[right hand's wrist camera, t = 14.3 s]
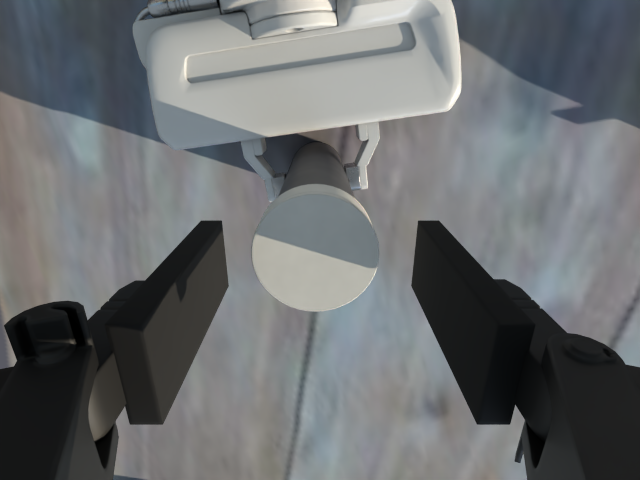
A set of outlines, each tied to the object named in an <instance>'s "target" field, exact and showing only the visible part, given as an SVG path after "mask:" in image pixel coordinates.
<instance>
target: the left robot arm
mask: <svg viewBox="0 0 640 480" xmlns="http://www.w3.org/2000/svg"><path fill="white" fill-rule="evenodd" d="M147 6H148V7H145V8H144V9H142V10H141V11H140V12H139V13H138V15H137V17H136V19H135V21H134V24H133V37H134V40H135V44H136V47H137V51H138V54H139V58H140V60H141V62H142V64H143V66H144V67H145V69H146V70H147V79H148V87H149V93H150V100H151V105H152V110H153V115H154V120H155V124H156V128H157V132H158V135H159V137H160V138H161V140H163V141H164V142H165V143H166V144H167V145H168V146H169V147H171V148H172V149H173V150H183V149H190V148H197V147H204V146H211V145H218V144H225V143H231V142H238V141H241V146H242V151H243V155H244V159H245V160H246V161H247V162H248V163H249V164H250V165H251V167H252V168H253V169H254V170H255V171H256V172H257V174H258V175H259V176H260V177H261V178H262V179H264V180H265V185H266V190H267V195H268V200H269V202H273V201H274V200H275V199H276V198H277V197H278V195H279V193H280V190H281V188H282V185H283V183H284V180H285V178H286V176H287V174H286V172H285V173H276V174H275V171H274V170H273V169H272V168H271V166H270V165H269V164H268V163H267V161H266V160H265V159H264V158H263V156H262V154H263V153H264V152H265V151H266V150H267V147H266V141H265V138H266V137H273V136H280V135H287V134H294V133H301V132H308V131H315V130H322V129H329V128H336V127H343V126H349V125H355V127H356V135H357V137H358V139H359V140H361V141H363V143H362V145H361V148H360V150H359V152H358V155H357V157H356V159H355V163H349V164H344V169H345V173H346V176H347V178H348V181H349V184H350V187H351V189H352V191H354V190H361V189H367V188H368V183H367V172H366V165H368V163H369V161H370V159H371V157H372V154H373V152H374V150H375V148H376V146H377V144H378V141H379V139H380V137H379V123H378V121H384V120H391V119H398V118H405V117H412V116H419V115H426V114H433V113H440V112H446V111H449V110H450V109H451V107H452V106H453V105H454V103H455V102H456V100H457V98H458V97H459V95H460V92H461V57H460V45H459V35H458V28H457V21H456V15H455V10H454V6H453V3H452V1H451V0H148V2H147ZM180 13H181V14H180ZM182 13H183V14H182ZM149 14H151V16H152V17H153V18H152V19H146V20H144V19H145V17H147V16H148V15H149ZM176 14H177V15H176Z"/></svg>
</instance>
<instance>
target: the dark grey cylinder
mask: <svg viewBox="0 0 640 480" xmlns="http://www.w3.org/2000/svg"><path fill="white" fill-rule="evenodd" d="M307 184H324V185H329V186H333V187H336V188H339V189H341V190H343V191H345V192H347V193H348V194H350V195H351V196H353V197H354V195H353V192H352V189H351V187H350V184H349V181H348V178H347V176H346V173H345V170H344V167H343V165H342V162H341V159H340V157H339V155H338V153H337V152H336V150H335V149H334V148H332V147H331V146H329V145H328V144H325V143H322V142H312V143H308V144H306V145H304V146H303V147H301V148H300V149H299V150H298V151H297V153H296V154H295V156H294V158H293V161H292V163H291V166H290V168H289V171H288V173H287V176H286V178H285V180H284V183H283V185H282V188H281V190H280V193H279V195H278V196H280V195H281V194H283V193H284V192H286V191H288V190H290V189H292V188H295V187H298V186H301V185H307Z"/></svg>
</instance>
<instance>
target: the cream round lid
mask: <svg viewBox="0 0 640 480" xmlns="http://www.w3.org/2000/svg"><path fill="white" fill-rule="evenodd" d="M251 257H252V264H253V267H254V271H255V273H256V275H257V278H258V279H259V281H260V283H261V284H262V286H263V287H264V288H265V289H266V290H267V291H268V292H269V293H270V294H271V295H272V296H273V297H274V298H276V299H277V300H278V301H280V302H282V303H283V304H285V305H288V306H290V307H293V308H296V309H299V310H305V311H326V310H331V309H335V308H338V307H341V306H343V305H345V304H347V303H349V302H351V301H352V300H354V299H355V298H357V297H358V296H359V295H360V294H361V293H362V292H363V291H364V290H365V289H366V288H367V286H368V285H369V284H370V282H371V281H372V279H373V277H374V275H375V272H376V269H377V266H378V261H379V244H378V239H377V236H376V233H375V231H374V228H373V226H372V223H371V221H370V219H369V217H368V214H367V213H366V211H365V209H364V208H363V207H362V205H361V204H360V203H359V202H358V201H357V200H356V199H355V198H354V197H353V196H351V195H350V194H348V193H347V192H345V191H343V190H341V189H339V188H336V187H333V186H329V185H324V184H307V185H301V186H298V187H295V188H292V189H290V190H288V191H286V192H284V193H283V194H281V195H280V196H278V197H277V198H276V199H275V200H274V201H273V202H272V203H271V204H270V205H269V206H268V208H267V209H266V211H265V212H264V214H263V216H262V218H261V221H260V223H259V225H258V227H257V229H256V231H255V234H254V237H253V241H252V247H251Z"/></svg>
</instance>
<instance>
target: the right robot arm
mask: <svg viewBox="0 0 640 480" xmlns="http://www.w3.org/2000/svg"><path fill="white" fill-rule="evenodd" d="M228 286H229V285H228V276H227V266H226V257H225V247H224V237H223V228H222V221H200V223H199V224H198V225H197V226H196V227H195V228H194V229H193V230H192V231H191V232H190V233H189V234H188V235H187V236H186V238H185V239H184V240H183V241H182V242H181V243H180V244H179V245H178V246H177V247H176V248H175V249H174V250H173V251H172V253H171V254H170V255H169V256H168V257H167V258H166V259H165V260H164V261H163V262H162V263H161V264H160V265H159V266H158V268H157V269H156V270H155V271H154V272H153V273H152V274H151V275H150V276H149V277H148V278H147V279H146V280H145V281H134V282H132V283H130V284H128V285H127V286H125V287H123V288H121V289H119V290H118V291H117V292H116V293H115V294H114V295H113V296H112V297H111V298H110V299H109V301H107V302H106V303H105V304H104V305H103V306H102V307H101V310H98V311H97V312H96V313H95V314H94V315H93V316H92V317H91V318H90V319H89V320H88V321H87V317H86V314H85V310H84V306H83V305H81V304H80V303H78V302H72V301H60V302H52V303H47V304H43V305H39V306H36V307H34V308H31V309H29V310H26V311H24V312H22V313H20V314H18V315H17V316H15V317H13V318H12V319H11V320H9V321H8V322H7V323H6V324H5V325H4V327H5V330H6V332H7V335H8V337H9V340H10V343H11V345H12V348H13V351H14V353H15V356H16V359H17V362H16V364H15V366H14V367H9V368H4V369H0V480H113V474H114V467H115V460H116V452H117V445H118V438H119V436H118V430H117V426H116V422H115V421H116V419H117V418H118V416H119V415H120V413H121V411H122V410H123V408H124V406H125V407H126V411H127V415H128V419H129V423H130V424H163V423H164V421H165V419H166V417H167V415H168V412H169V410H170V408H171V406H172V404H173V402H174V400H175V398H176V396H177V394H178V391H179V389H180V387H181V385H182V383H183V381H184V379H185V377H186V375H187V372H188V370H189V368H190V366H191V364H192V362H193V360H194V358H195V356H196V353H197V351H198V349H199V347H200V345H201V343H202V341H203V339H204V337H205V335H206V332H207V330H208V328H209V326H210V324H211V322H212V320H213V318H214V316H215V313H216V311H217V309H218V307H219V305H220V303H221V301H222V299H223V297H224V295H225V292H226V290H227V288H228ZM411 286H412V288H413V290H414V292H415V295H416V297H417V299H418V301H419V303H420V305H421V307H422V309H423V311H424V313H425V316H426V318H427V320H428V322H429V324H430V326H431V328H432V330H433V332H434V335H435V337H436V339H437V341H438V343H439V345H440V347H441V349H442V351H443V354H444V356H445V358H446V360H447V362H448V364H449V366H450V368H451V370H452V372H453V375H454V377H455V379H456V381H457V383H458V385H459V387H460V389H461V391H462V394H463V396H464V398H465V400H466V402H467V404H468V406H469V408H470V410H471V412H472V415H473V417H474V419H475V421H476V423H477V424H510V423H511V419H512V415H513V411H514V407H515V405H516V406H517V408H518V409H519V411H520V412H521V414H522V416H523V417H524V419H525V422H524V426H523V430H522V433H521V437H520V440H519V444H518V448H517V451H516V456H515V462H518V463H520V462H521V458H522V455H523V454H524V459H525V466H526V473H527V480H640V367H635V366H630V365H625V363H624V361H623V360H622V359H621V358H620V356H619V355H618V354H617V353H616V352H615V351H613V350H612V349H611V348H609V347H608V346H606V345H605V344H603V343H600V342H598V341H596V340H594V339H591V338H588V337H585V336H581V335H578V334H570V333H567V332H566V331H565V330H564V329H562V328H561V327H560V326H559V325H558V324H557V323H556V322H555V321H554V320H553V319H552V318H551V317H550V316H549V315H548V314H547V313H546V312H545V311H544V310H543V309H540V306H539V305H538V304H537V303H536V302H535V301H534V300H531V297H529V296H528V295H527V294H526V293H525V292H524V291H523V290H522V289H521V288H520V287H518V286H516V285H514V284H512V283H511V282H509V281H507V280H505V279H493V278H492V277H491V276H490V275H489V274H488V273H487V272H486V271H485V270H484V269H483V268H482V266H481V265H480V264H479V263H478V262H477V261H476V260H475V259H474V258H473V257H472V256H471V255H470V254H469V253H468V251H467V250H466V249H465V248H464V247H463V246H462V245H461V244H460V243H459V242H458V241H457V240H456V239H455V238H454V236H453V235H452V234H451V233H450V232H449V231H448V230H447V229H446V228H445V227H444V226H443V225H442V224H441V223H440V221H418V228H417V237H416V247H415V257H414V266H413V276H412V285H411Z"/></svg>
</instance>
